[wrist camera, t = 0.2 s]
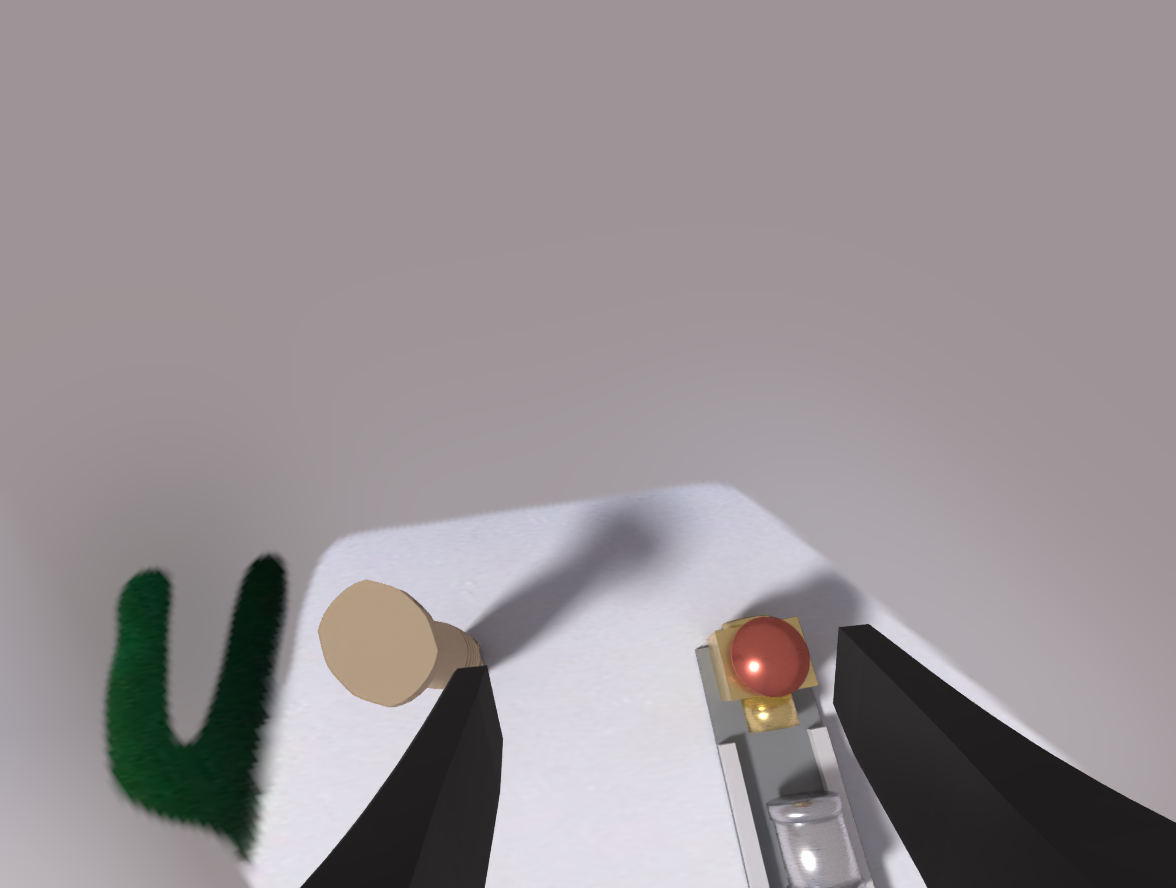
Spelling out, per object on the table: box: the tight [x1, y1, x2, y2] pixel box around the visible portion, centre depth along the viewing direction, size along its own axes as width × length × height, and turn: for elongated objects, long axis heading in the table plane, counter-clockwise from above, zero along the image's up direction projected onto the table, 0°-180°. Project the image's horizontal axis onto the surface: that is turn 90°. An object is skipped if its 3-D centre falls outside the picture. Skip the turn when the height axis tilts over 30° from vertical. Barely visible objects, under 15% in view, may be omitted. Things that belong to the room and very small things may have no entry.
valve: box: [707, 615, 818, 733], centre depth 37 cm, size 7×5×7 cm
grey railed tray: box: [695, 647, 874, 888], centre depth 36 cm, size 20×7×1 cm, turn 9°
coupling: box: [766, 791, 867, 888], centre depth 34 cm, size 5×4×4 cm
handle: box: [318, 580, 484, 707], centre depth 35 cm, size 5×6×15 cm
